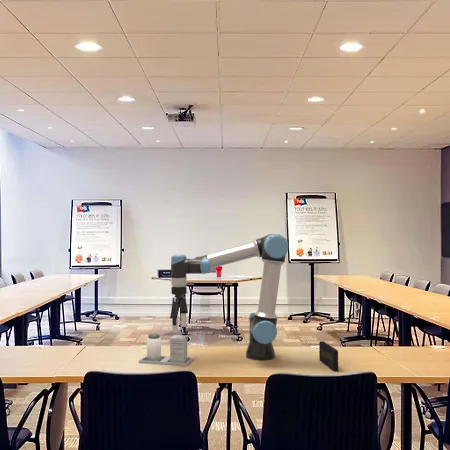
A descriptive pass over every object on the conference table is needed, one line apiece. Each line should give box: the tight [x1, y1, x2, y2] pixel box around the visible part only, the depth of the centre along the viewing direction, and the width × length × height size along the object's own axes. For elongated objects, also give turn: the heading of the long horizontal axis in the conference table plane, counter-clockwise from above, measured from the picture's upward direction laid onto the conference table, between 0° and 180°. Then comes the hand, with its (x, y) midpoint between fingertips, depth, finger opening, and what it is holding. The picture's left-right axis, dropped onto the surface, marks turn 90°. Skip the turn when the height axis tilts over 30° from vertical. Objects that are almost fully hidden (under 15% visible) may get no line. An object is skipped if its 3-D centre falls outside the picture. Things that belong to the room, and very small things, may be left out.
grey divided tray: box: [138, 355, 194, 367], centre depth 252 cm, size 24×11×2 cm, turn 77°
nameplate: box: [318, 340, 339, 372], centre depth 249 cm, size 21×2×10 cm, turn 9°
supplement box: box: [169, 334, 188, 363], centre depth 251 cm, size 7×7×13 cm
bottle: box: [146, 333, 162, 361], centre depth 254 cm, size 7×7×13 cm
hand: (179, 329), depth 251 cm, fingers open, 13 cm apart
